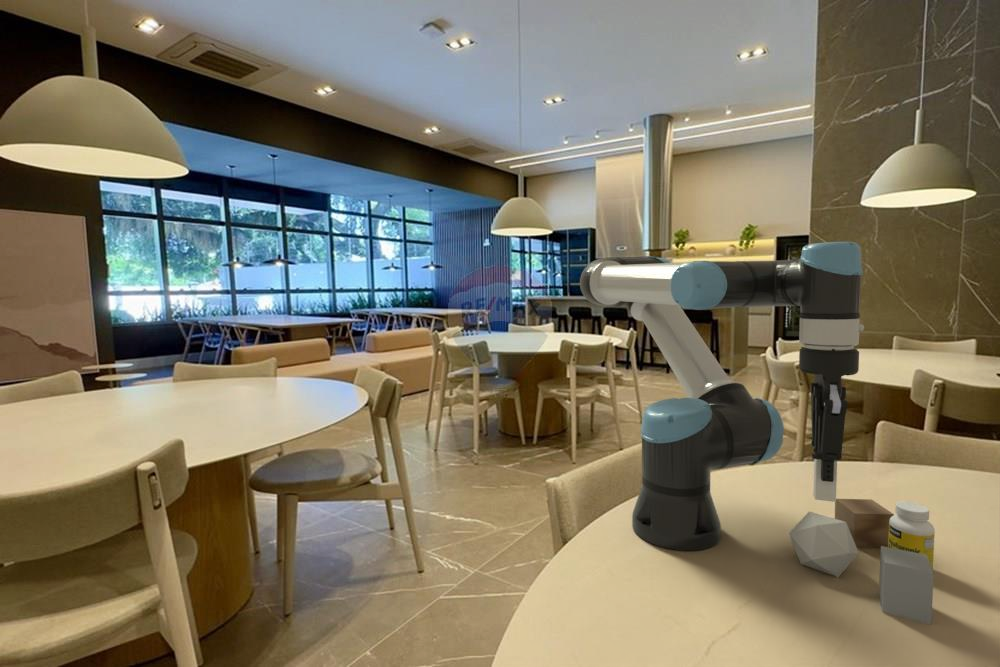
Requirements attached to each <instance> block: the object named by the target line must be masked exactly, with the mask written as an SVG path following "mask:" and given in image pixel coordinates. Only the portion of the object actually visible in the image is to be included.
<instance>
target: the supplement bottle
mask: <svg viewBox="0 0 1000 667" xmlns="http://www.w3.org/2000/svg"><path fill="white" fill-rule="evenodd" d="M894 509H895V510H894V511H895V514H894V516H892V517H891V518H890V521H889V538H888V547H889V548H894V549H899V550H904V551H909V552H914V553H919V554H924V555H927V557H928V560H929V562H930V565H931V567H932V570H933V569H934V551H935V550H934V549H935V527H934V524H932V523H931V522H930V521H929V520H930V509H929V508H928V507H926V506H925V505H922V504H920V503H917V502H913V501H912V502H911V501H905V500H902V501H901V500H900V501H897V502H896V503H895V508H894ZM933 571H934V570H933Z"/></svg>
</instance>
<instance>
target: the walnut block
mask: <svg viewBox="0 0 1000 667" xmlns="http://www.w3.org/2000/svg"><path fill="white" fill-rule="evenodd" d="M894 515H895V513H893V512H891V511H890V510H888V509H887V508H885V507H884V506H883V505H881V504H880V503H878V502H876V501H875V500H873V499H869V498H867V499H866V498H865V499H863V498H860V499H859V498H836V502H834V519H837V520H841V521H844V522H846V523H847V526H848V528H849V530H850V533H851V535H852V538H853V540H854V543H855V545H856V547H857V549H875V550H876V549H879V550H881V546H884V547H888V538H889V521H890V518H891V517H892V516H894Z"/></svg>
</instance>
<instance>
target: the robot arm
mask: <svg viewBox="0 0 1000 667" xmlns="http://www.w3.org/2000/svg"><path fill="white" fill-rule="evenodd" d="M799 257H800V258H798V259H797V258H796V259H785V260H784V259H781V260H747V261H746V260H744V261H743V260H741V261H739V260H736V261H735V260H734V261H729V260H728V261H723V260H721V261H719V260H717V261H716V260H715V261H712V260H711V261H710V260H693V261H688V262H671V261H668V260H667V259H665V258H663V257H655V256H651V255H649V256H643V257H641V256H640V257H639V256H638V257H637V256H634V257H633V256H632V257H631V256H628V257H626V256H624V257H623V256H622V257H612V256H610V257H601V258H598V259H595V260H593V261H591V262H590V263H589V264H587V265H586V266H585V267H584V269H583V271H582V272H581V275H580V278H579V287H580V292H581V293H582V295H583V296H584V298H585V299H586V301H588V302H590V303H591V304H594V305H595V306H599V307H606V308H607V307H608V308H611V307H613V308H617V307H626V308H627V309H628V312H629V313H630V315H631V317H633V319H634V320H636V321H639V322H643V324H644V325H645V327H646V329H647V330H648V332H649V334H650V335H651V337H652V338H653V340H654V342H655V344H656V346H657V347H658V349H659V350H660V352H661V354H662V356H663V357H664V359H665V361H666V363H667V364H668V365H669V367H670V368H671V370H672V372H673V373H674V375H675V377H676V379H677V381H678V382H679V384H680V386H681V387H682V389H683V390H684V392H685V394H686V397H681V398H677V397H675V398H674V397H672V398H666V399H662V400H658V401H656V402H655V401H654V402H653V403H650V404H649V405H648V406H647V407H646V408H645V409H644V411H643V412H642V419H641V428H640V435H641V488H640V489H639V490H640V491H639V494H638V496H637V499H636V502H635V504H634V505H635V506H634V507H633V511H632V517H631V518H632V520H631V523H632V525H631V526H632V529H633V531H634V532H635V534H636V535H637V537H639V538H641V539H642V540H644V541H646V542H647V543H650V544H652V545H655V546H658V547H661V548H665V549H668V550H669V549H670V550H675V551H700V550H707V549H709V548H711V547H714V546H716V545H717V544H718V543H719V542H720V540H721V537H722V536H721V535H722V534H721V528H722V525H721V521H720V517H719V513H718V512H717V508H716V506H715V502H714V500H713V497H712V493H711V472H712V471H717V470H722V469H731V468H735V467H740V466H741V467H742V466H743V467H744V466H753V465H756V464H760V463H762V462H767V461H769V460H771V459H772V458H774V457H775V456H776V455H777V454H778V453H779V451H780V450H781V448H782V445H783V443H784V437H783V436H784V434H785V429H784V428H785V427H784V426H785V425H784V422H783V419H782V416H781V414H780V411H779V410H778V409H777V408H776V406H774V404H773V403H772V402H770V401H769V400H767V399H762V398H759V397H757V398H753V396H752V395H751V393H750V392H749V391H748V389H747V388H746V386H745V385H744V383H741V382H739V381H733V380H731V379H730V378H729V376H728V375H727V373H726V371H725V370H724V369H723V367H722V366H721V365H720V363H719V361H718V360H717V358H716V357H715V355H714V354H713V353H712V350H710V348H709V347H708V346H707V343H705V341H704V340H703V338H702V336H701V335H700V333H699V331H698V330H697V329H696V328H695V326H694V325H693V323H692V321H691V320H690V319H689V317H688V316H687V314H686V313H685V311H684V310H683V309H685V310H694V311H706V310H711V309H712V310H713V309H725V308H736V309H737V308H755V307H756V308H758V307H759V308H760V307H799V309H800V312H799V313H800V314H799V316H800V317H799V336H798V338H799V339H798V340H799V344H801V345H803V346H802V347H800V349H799V355H798V368H799V370H800V372H803V373H806V374H809V375H810V374H811V375H814V382H810V386H809V391H810V392H809V393H810V403H811V404H810V407H811V408H810V410H811V446H812V447H813V452H814V453H811V458H812V459H813V463H814V465H813V498H814V499H815V500H817V501H825V502H834V503H835V502H836V499H837V480H838V479H837V477H838V476H837V475H838V461H841V460H842V457H843V455H842V454H843V441H844V432H845V421H846V413H847V410H848V407H849V403H848V401H847V400H845V399H846V398H847V389H846V387H845V386H843V385H842V384H843V383H842V377H844V376H854V375H856V374H858V372H859V370H860V369H859V368H860V366H859V364H860V351H859V350H858V348H855V347H856V346H858V345H859V344H860V332H861V331H864V330H865V326H864V324H862V323H860V322H861V321H860V318H861V312H860V310H861V308H860V306H861V304H860V303H861V290H862V282H863V281H862V280H863V274H864V271H863V270H864V269H863V268H862V267H863V266H862V265H863V264H862V249H861V246H860V244H858V242H854V241H831V242H830V241H829V242H826V241H825V242H815V243H810V244H806V245H804V246H803V247H802V249H801V255H800V256H799ZM682 308H683V309H682Z"/></svg>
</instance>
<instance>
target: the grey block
mask: <svg viewBox="0 0 1000 667" xmlns="http://www.w3.org/2000/svg"><path fill="white" fill-rule="evenodd" d="M879 554H880V556H879V560H880V561H879V586H878V593H879V595H878V596H879V600H880V606H881V611H882V613H884V614H887V615H891V616H895V617H898V618H899V617H900V618H902V619H903V618H904V619H907V620H911V621H914V622H919V623H923V624H926V623H928V624H927V625H930V624H931V625H932V619H933V618H932V617H933V616H932V614H933V598H934V596H933V594H934V593H933V592H934V570H932V567H931V565H930V562H929V560H928V557H927V555H924V554H919V553H914V552H909V551H904V550H899V549H894V548H889V547H884V546H881V549H880V553H879Z"/></svg>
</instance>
